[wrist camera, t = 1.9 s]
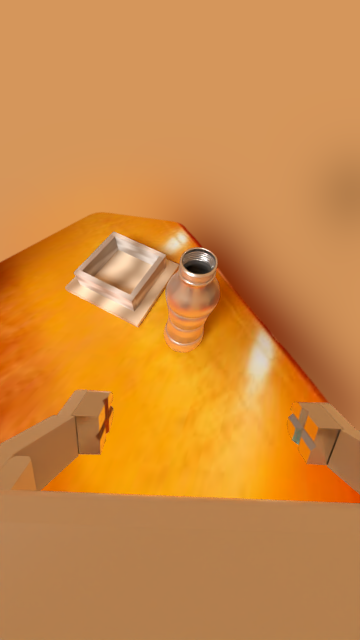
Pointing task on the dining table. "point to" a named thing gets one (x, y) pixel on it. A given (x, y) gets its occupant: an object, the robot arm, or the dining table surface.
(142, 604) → the robot arm
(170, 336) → the plastic bottle
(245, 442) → the dining table surface
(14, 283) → the dining table surface
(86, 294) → the bottle holder
